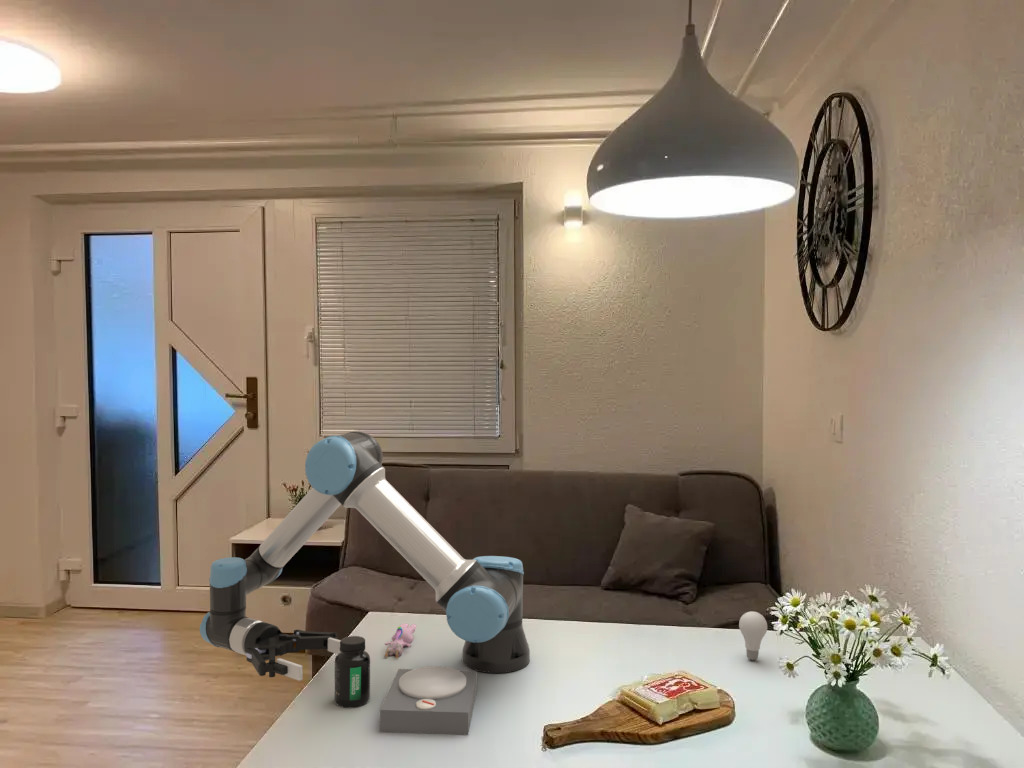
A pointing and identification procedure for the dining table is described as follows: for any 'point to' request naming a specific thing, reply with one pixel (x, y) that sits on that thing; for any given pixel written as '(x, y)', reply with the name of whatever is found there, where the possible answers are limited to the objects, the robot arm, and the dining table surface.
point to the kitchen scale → (429, 701)
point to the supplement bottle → (352, 673)
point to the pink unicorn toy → (400, 640)
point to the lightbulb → (752, 632)
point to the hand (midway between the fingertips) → (327, 661)
